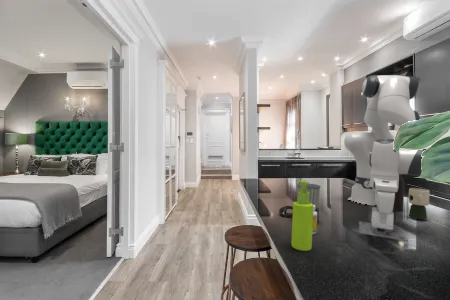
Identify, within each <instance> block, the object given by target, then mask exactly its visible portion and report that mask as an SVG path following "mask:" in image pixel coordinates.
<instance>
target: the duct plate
mask: <svg viewBox="0 0 450 300" xmlns="http://www.w3.org/2000/svg"><path fill="white" fill-rule="evenodd" d="M358 224H359V226H358V228H359V234H363V235H368V236H374V237H379V238H386V239H390V240H397V241H403V242H409V239H408V238H407V236H406V234H405V233H404V232H405V231H404V230H403V229H402V227H399V226H393V230H390V229H383V228H377V227H372V223H371V222H367V221H360V220H359V221H358Z"/></svg>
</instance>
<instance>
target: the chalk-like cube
mask: <svg viewBox="0 0 450 300" xmlns="http://www.w3.org/2000/svg"><path fill="white" fill-rule="evenodd" d="M394 215H395V213H394V212H393V211H392V214H388V216H387V220H386V224H382V223H380V212H379V210H378V207H373V206H372V207H371V222H370V223H372V227H377V228H383V229H390V230H393V227H394Z"/></svg>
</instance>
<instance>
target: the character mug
mask: <svg viewBox="0 0 450 300" xmlns="http://www.w3.org/2000/svg"><path fill="white" fill-rule="evenodd" d="M430 192H431V191H430V190H429V189H424V188H416V187H415V188H414V187H410V188H409V189H408V198H407V199H408V200H407V201H408V203H409V204H411V205H410V208H409V213H408V217H409V218H410V219H414V220H416V219H417V220H418V221H419V220H427V219H428V218H427V217H428V216H427V215H428V213H427V208H426V206H429V205H430Z"/></svg>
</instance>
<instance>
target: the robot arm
mask: <svg viewBox="0 0 450 300" xmlns="http://www.w3.org/2000/svg"><path fill="white" fill-rule="evenodd" d="M419 84H420V82H419V80H418V78H416V77H413V76H410V75H409V76H405V75H398V74H391V75H390V74H389V75H386V74H384V75H383V74H382V75H377V74H373V75H368V76H367V77H366V78H365V79H364V81H363V84H362V86H361V87H362V89H361V91H362V95H363V96H364V97H366V98H369V100H368V103H367V106H366V111H365V114H364V117H363V121H364V124H365V125H366V126H368V127H370V128H371V132H368V131H367V132H366V131H364V132H363V131H357V132H350V133H349V132H348V134H347V135H346V136H345V138H344V141H343V143H344V147H345V148H346V150H348V151H349V152H350V153H351V154H352V156H353V157H354V159H355V162H356V163H355V164H356V176H355V179H354V180H355V181H354V182H355V183H354V185H352V187H351V194H350V195H351V196H350V197H348V198H347V201H348V200H351V201H350V202H353V201H354V202H353V203H355V202H357V203H356V204H359V203H361V204H360V205H365V204H367V205H366V206H375V205H377V206H376V208H378V210H379V212H380V223H382V224H386V220H387V216H388V214H392V212H393V211H394V210H393V206H394V199H395V192H397V190H398V184H399V174H402V175H408V176H415V177H420V176H419V175H420V174H421V159H422V157H421V154H422V152H423V151H424V150H426V149H423V150H405V149H406V148H400V149H401V150H399V151H398V152H397V153H394V151H393V141H394V138H395V139H396V137H395V136H394V135H393V134H392V133H391V132H390V130H389V124H391V125H396V126H399V127H402V126H401V125H402V124H404V123H406V122H408V121H413V120H419V119H421V116H420V113H419V112H418V111H416V110H414V109H413V108H412V107H411V105H410V100H411V99H413V98H415V97H416V96H417V93H418V91H419V88H420V85H419Z"/></svg>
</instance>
